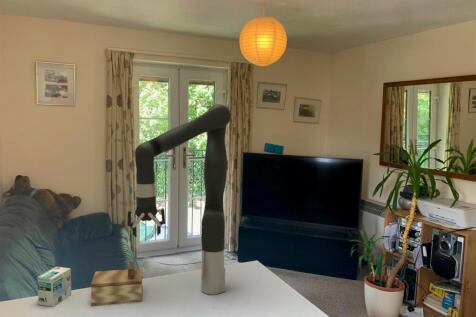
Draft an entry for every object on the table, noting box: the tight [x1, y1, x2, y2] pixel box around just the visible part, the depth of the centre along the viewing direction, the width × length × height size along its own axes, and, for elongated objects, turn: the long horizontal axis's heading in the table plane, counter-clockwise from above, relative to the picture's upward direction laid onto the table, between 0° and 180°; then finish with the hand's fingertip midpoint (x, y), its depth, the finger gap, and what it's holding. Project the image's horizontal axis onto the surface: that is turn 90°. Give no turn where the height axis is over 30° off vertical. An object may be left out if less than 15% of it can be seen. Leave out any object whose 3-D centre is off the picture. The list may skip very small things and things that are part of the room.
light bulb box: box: [37, 266, 72, 307], centre depth 141 cm, size 11×7×11 cm, turn 168°
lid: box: [90, 260, 143, 288], centre depth 143 cm, size 18×12×5 cm, turn 103°
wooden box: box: [90, 282, 143, 307], centre depth 144 cm, size 18×12×7 cm, turn 103°
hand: (146, 235), depth 145 cm, fingers open, 8 cm apart
